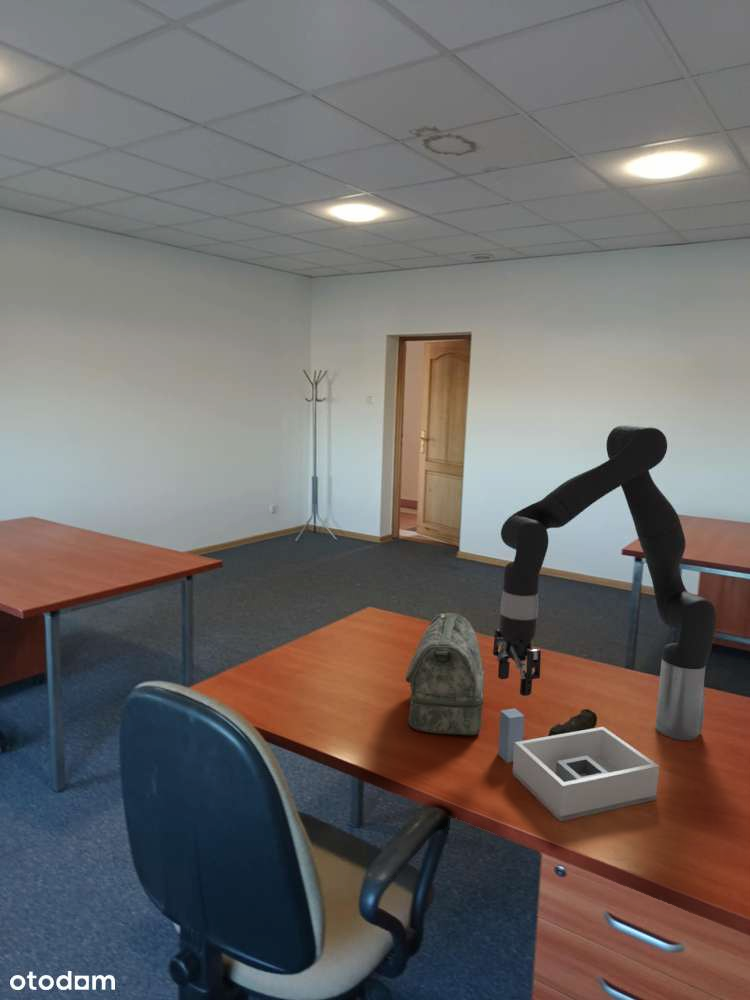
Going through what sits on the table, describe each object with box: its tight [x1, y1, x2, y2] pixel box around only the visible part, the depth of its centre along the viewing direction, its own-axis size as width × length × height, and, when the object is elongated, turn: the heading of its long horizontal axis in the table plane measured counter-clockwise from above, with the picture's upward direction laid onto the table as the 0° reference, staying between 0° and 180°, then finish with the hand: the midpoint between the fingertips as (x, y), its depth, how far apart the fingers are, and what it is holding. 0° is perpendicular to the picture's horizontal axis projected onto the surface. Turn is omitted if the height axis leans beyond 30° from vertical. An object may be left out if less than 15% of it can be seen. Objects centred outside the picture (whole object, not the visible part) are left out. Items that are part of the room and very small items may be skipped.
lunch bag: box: [405, 612, 485, 736], centre depth 158 cm, size 26×18×22 cm
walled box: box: [512, 726, 660, 822], centre depth 128 cm, size 22×16×7 cm
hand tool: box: [548, 708, 598, 736], centre depth 148 cm, size 19×4×5 cm, turn 132°
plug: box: [497, 708, 525, 764], centre depth 138 cm, size 4×4×10 cm
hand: (513, 686), depth 137 cm, fingers open, 8 cm apart
